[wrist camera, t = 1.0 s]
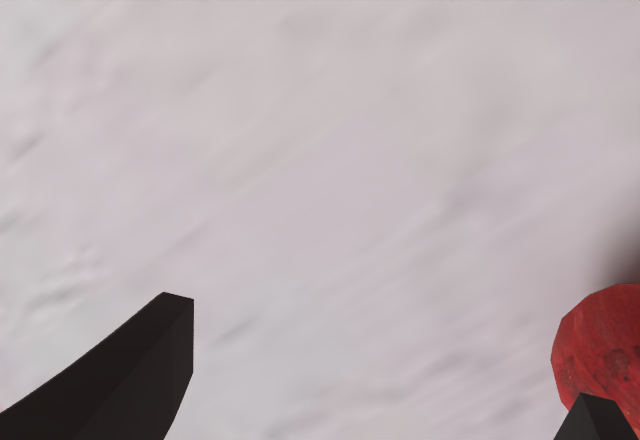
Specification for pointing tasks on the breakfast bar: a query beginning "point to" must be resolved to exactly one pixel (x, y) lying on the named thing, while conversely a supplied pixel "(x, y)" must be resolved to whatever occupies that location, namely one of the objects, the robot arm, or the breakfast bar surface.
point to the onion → (601, 350)
